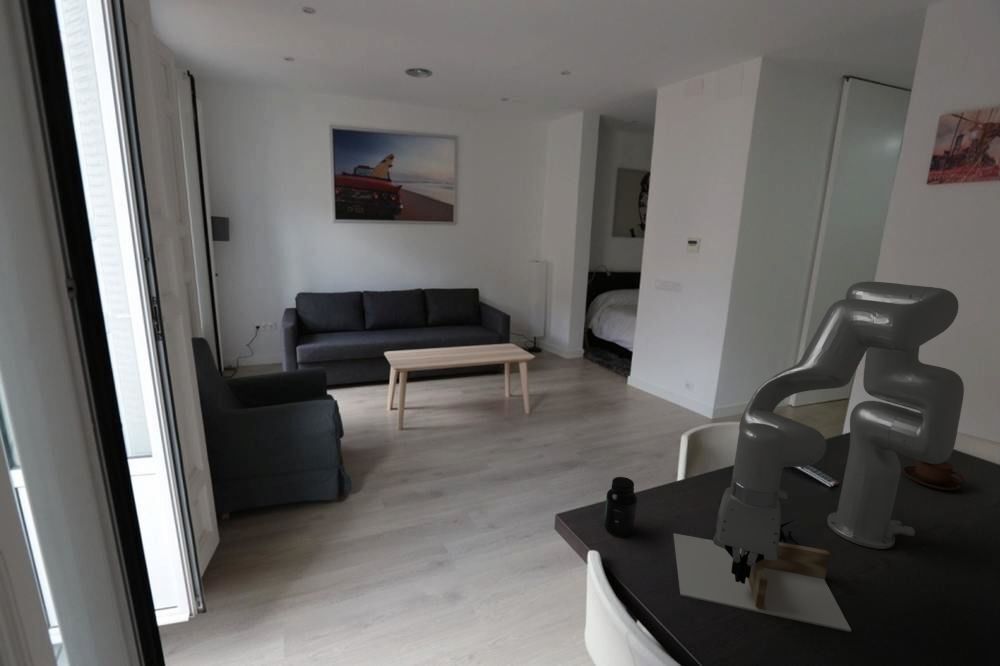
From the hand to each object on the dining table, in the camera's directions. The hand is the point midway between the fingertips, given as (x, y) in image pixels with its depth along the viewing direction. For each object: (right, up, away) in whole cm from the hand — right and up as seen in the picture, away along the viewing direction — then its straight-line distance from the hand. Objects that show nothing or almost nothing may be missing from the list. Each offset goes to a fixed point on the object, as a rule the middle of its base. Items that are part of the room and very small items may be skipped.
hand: (739, 578), depth 90 cm
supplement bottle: (-18, +1, +19) cm, 27 cm away
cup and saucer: (+76, +4, +43) cm, 87 cm away
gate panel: (+3, -2, +2) cm, 5 cm away
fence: (+12, -2, +7) cm, 14 cm away
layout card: (+5, -2, +5) cm, 7 cm away
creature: (+17, -1, +15) cm, 23 cm away
